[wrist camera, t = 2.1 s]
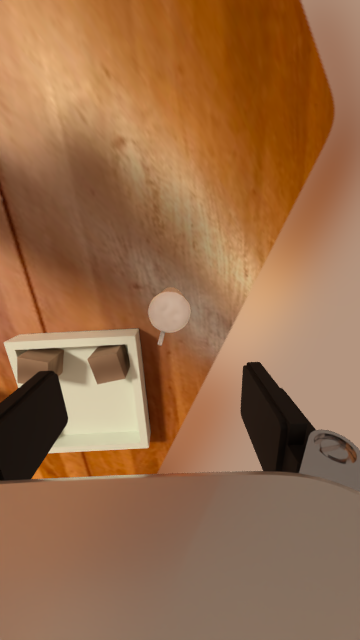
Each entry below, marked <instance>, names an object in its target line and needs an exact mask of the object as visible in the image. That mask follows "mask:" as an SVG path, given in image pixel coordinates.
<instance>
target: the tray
mask: <svg viewBox="0 0 360 640" xmlns="http://www.w3.org/2000/svg"><path fill="white" fill-rule="evenodd" d="M122 344H125V347H126V350H127V353H128V356H129V360H130V368H129V371H128V373H127V375H126V378H125V379H121V380H116V381H112V382H107V383H102V384H97V382H96V380H95V377H94V375H93V372H92V370H91V367H90V365H89V362H88V360H87V359H88V358H89V357H90V356H91V354H92V353H93V352H94V351H95V350H96V349H97V347H99V346H103V345H122ZM4 345H5V348H6V351H7V354H8V357H9V360H10V363H11V366H12V369H13V373H14V376H15V379H16V382H17V357H18V356H20V355H21V354H23V353H24V352H26V351H28V350H29V349H44V348H58V349H63V350H64V358H63V372H62V374H61V375H60V376H59V382H60V386H61V390H62V394H63V398H64V402H65V406H66V410H67V414H68V423H67V425H66V427H65V428H64V430H63V431H62V433H61V434H60V436H59V437H58V439H57V440H56V442H55V443H54V445H53V446H52V448H51V449H50V451H49V452H48V453H61V452H80V451H100V450H119V449H138V448H149V442H150V435H151V431H150V422H149V413H148V405H147V396H146V387H145V378H144V369H143V361H142V352H141V343H140V334H139V328H137V329H117V330H98V331H78V332H58V333H39V334H20V335H18V336H16V337H14V338H12V339H10V340H8V341H6V342H4ZM17 385H18V388H19V387H21V386H22V385H23V384H21V383H18V382H17Z"/></svg>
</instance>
